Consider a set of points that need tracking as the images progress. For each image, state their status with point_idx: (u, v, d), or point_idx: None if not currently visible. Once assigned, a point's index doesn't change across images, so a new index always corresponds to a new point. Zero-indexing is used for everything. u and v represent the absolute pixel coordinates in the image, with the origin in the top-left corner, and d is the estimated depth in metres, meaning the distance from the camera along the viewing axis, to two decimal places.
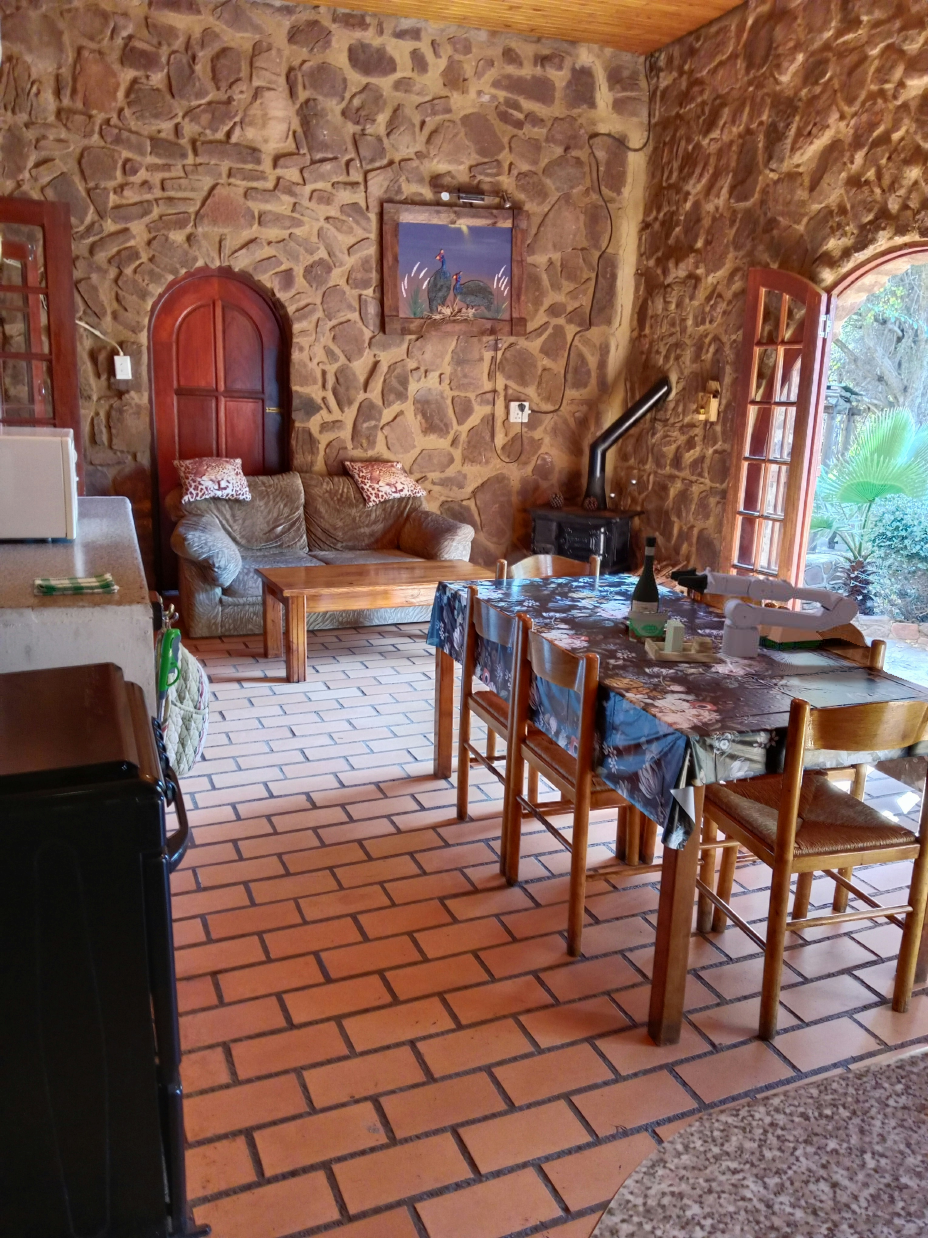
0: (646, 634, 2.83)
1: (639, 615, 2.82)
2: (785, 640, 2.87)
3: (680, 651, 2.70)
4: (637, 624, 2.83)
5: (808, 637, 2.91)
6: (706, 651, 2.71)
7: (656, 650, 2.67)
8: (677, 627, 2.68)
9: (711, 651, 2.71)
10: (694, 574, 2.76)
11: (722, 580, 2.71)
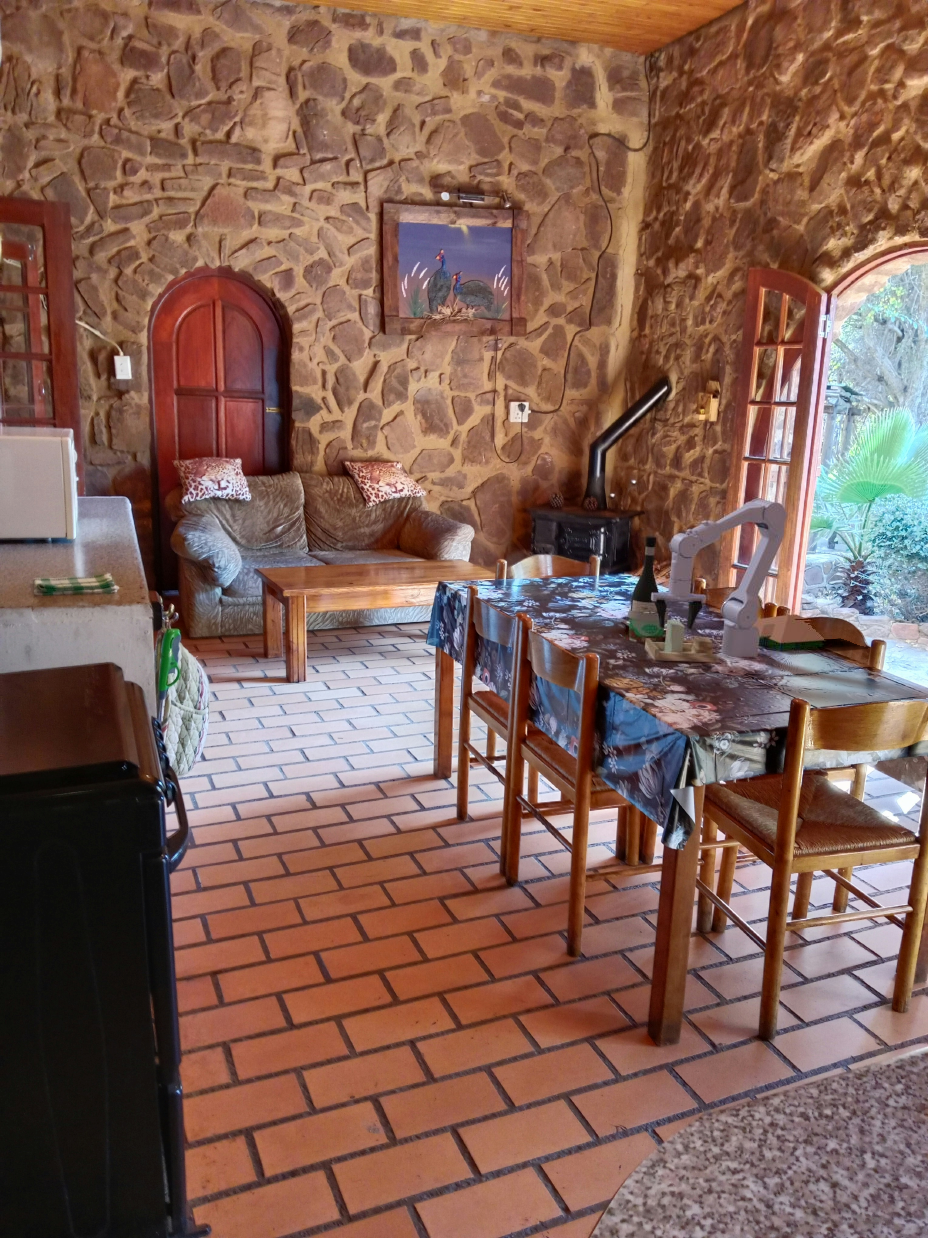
0: (646, 634, 2.83)
1: (639, 615, 2.82)
2: (787, 641, 2.86)
3: (680, 651, 2.70)
4: (637, 624, 2.83)
5: (810, 637, 2.90)
6: (706, 651, 2.71)
7: (656, 650, 2.67)
8: (677, 627, 2.68)
9: (711, 651, 2.71)
10: None
11: (690, 584, 2.68)
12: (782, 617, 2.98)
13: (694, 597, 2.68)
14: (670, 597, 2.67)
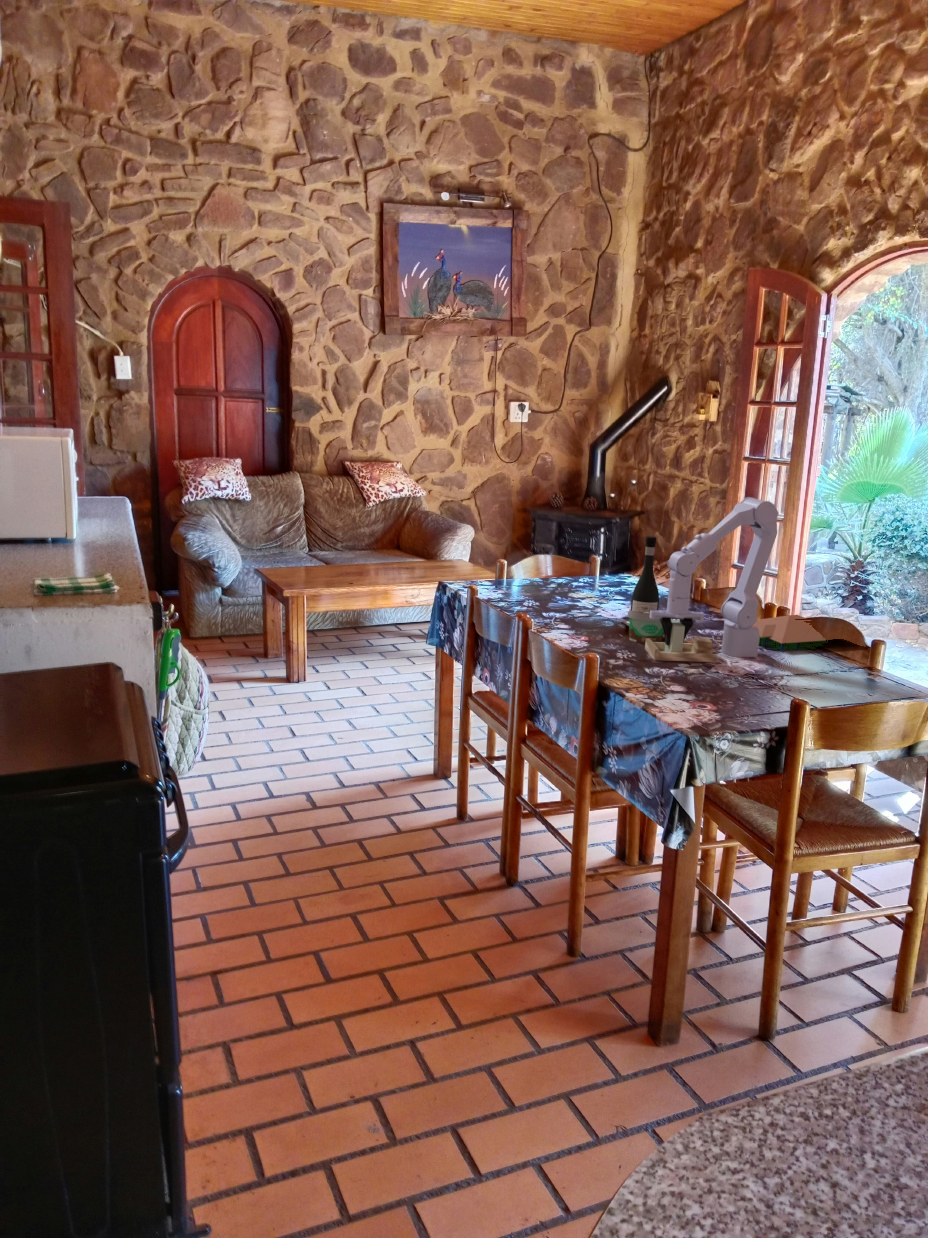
0: (646, 634, 2.83)
1: (639, 615, 2.82)
2: (788, 641, 2.86)
3: (680, 651, 2.70)
4: (637, 624, 2.83)
5: (811, 637, 2.90)
6: (706, 651, 2.71)
7: (656, 650, 2.67)
8: (677, 627, 2.68)
9: (711, 651, 2.71)
10: None
11: (688, 601, 2.69)
12: (783, 617, 2.98)
13: (692, 615, 2.69)
14: (668, 615, 2.69)
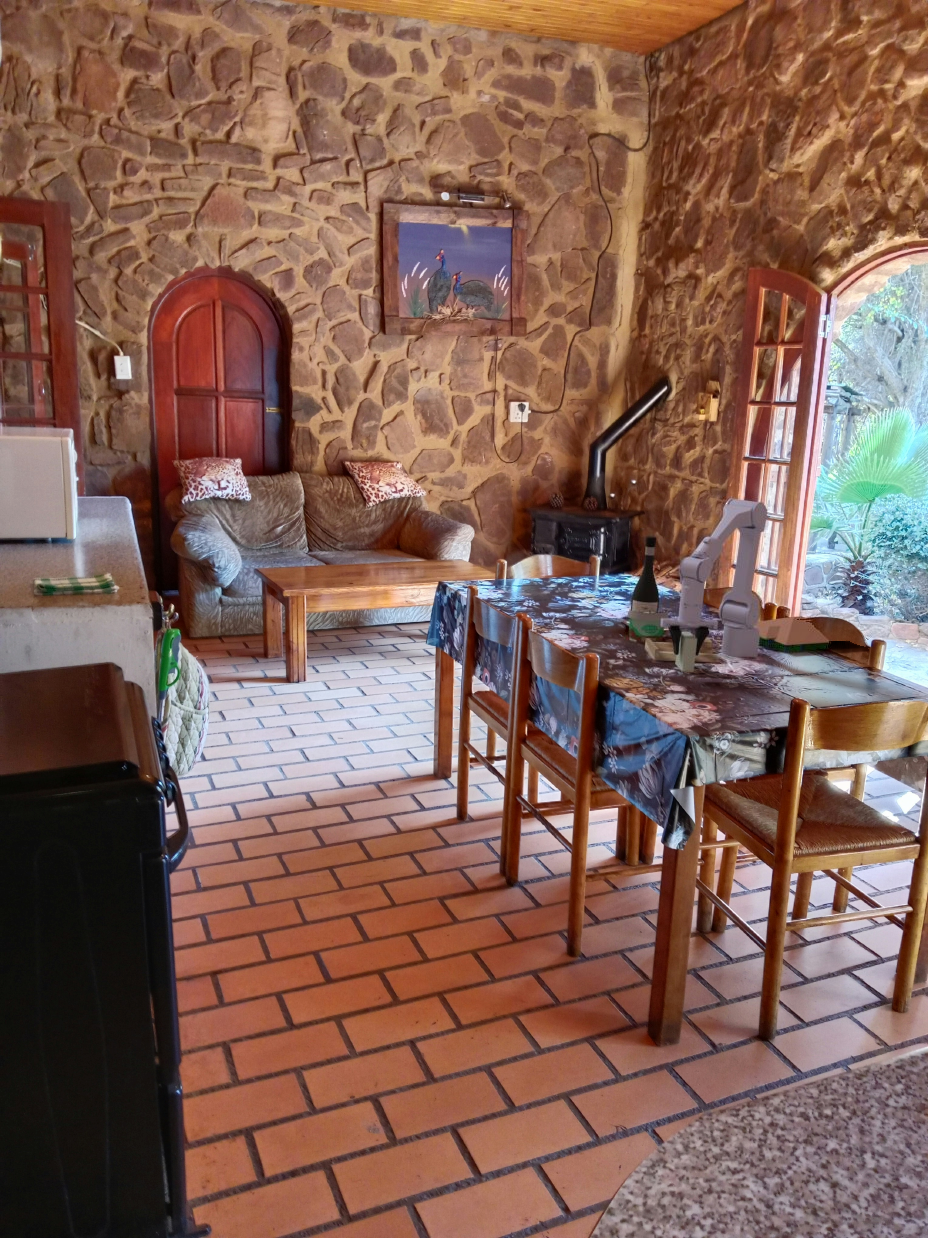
0: (646, 634, 2.83)
1: (639, 615, 2.82)
2: (792, 643, 2.85)
3: (692, 664, 2.58)
4: (637, 624, 2.83)
5: (816, 639, 2.89)
6: (706, 651, 2.71)
7: (656, 650, 2.67)
8: (689, 639, 2.57)
9: (711, 651, 2.71)
10: None
11: (701, 609, 2.57)
12: (787, 619, 2.96)
13: (705, 623, 2.57)
14: (680, 623, 2.57)
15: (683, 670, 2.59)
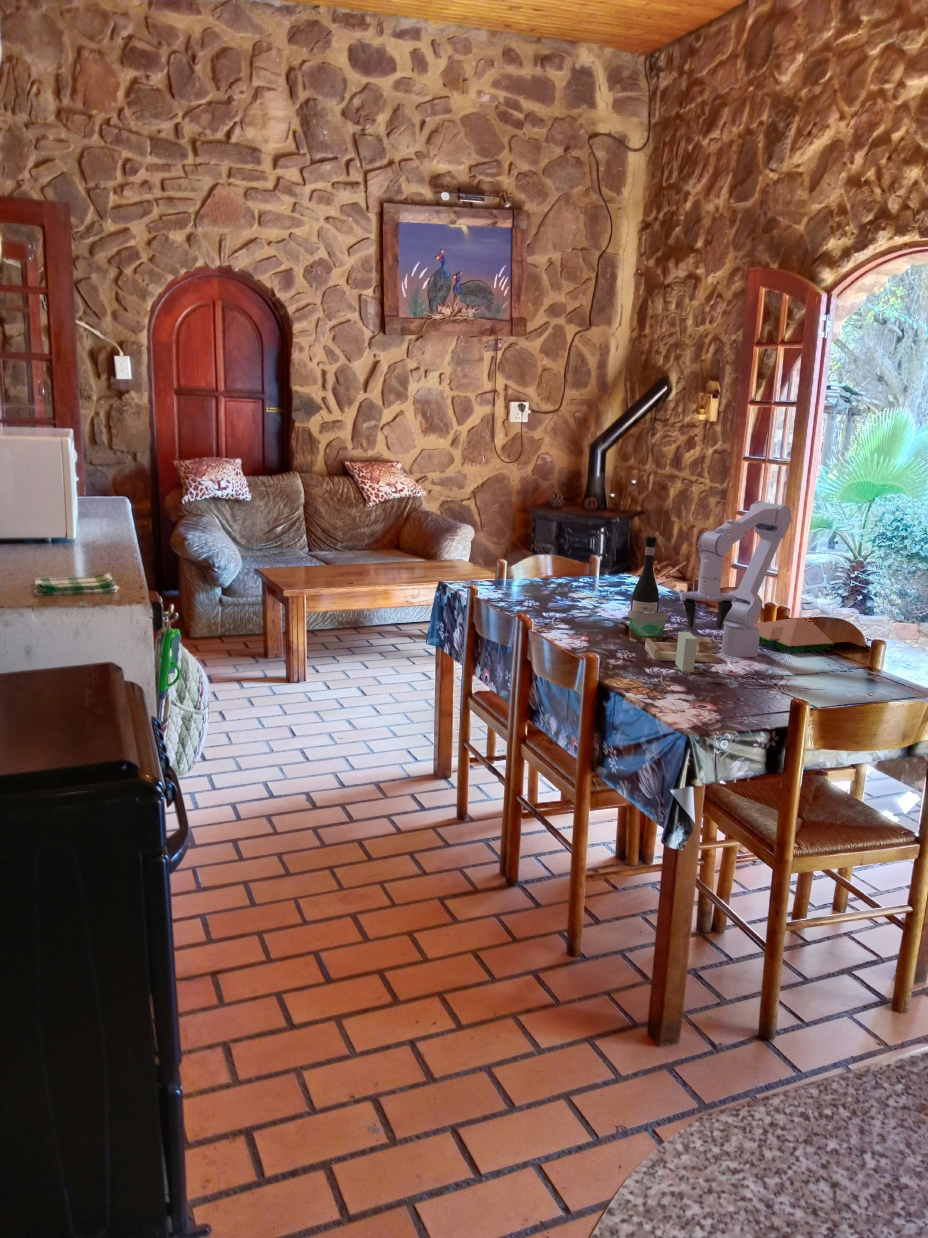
0: (646, 634, 2.83)
1: (639, 615, 2.82)
2: (796, 644, 2.84)
3: (692, 664, 2.58)
4: (637, 624, 2.83)
5: (819, 640, 2.87)
6: (706, 651, 2.71)
7: (656, 650, 2.67)
8: (689, 639, 2.57)
9: (711, 651, 2.71)
10: None
11: (720, 583, 2.63)
12: (791, 620, 2.95)
13: (724, 596, 2.63)
14: (700, 596, 2.62)
15: (683, 670, 2.59)
